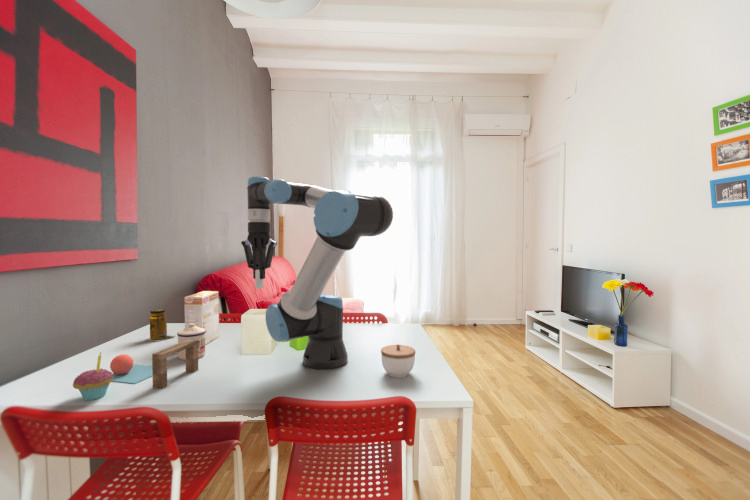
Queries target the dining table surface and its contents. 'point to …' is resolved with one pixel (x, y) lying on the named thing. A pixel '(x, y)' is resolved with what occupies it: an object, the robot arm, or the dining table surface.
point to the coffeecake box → (203, 313)
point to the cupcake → (93, 382)
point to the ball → (121, 364)
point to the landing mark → (134, 374)
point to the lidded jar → (398, 360)
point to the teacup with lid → (193, 334)
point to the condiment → (158, 325)
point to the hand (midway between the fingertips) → (259, 288)
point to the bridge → (161, 361)
